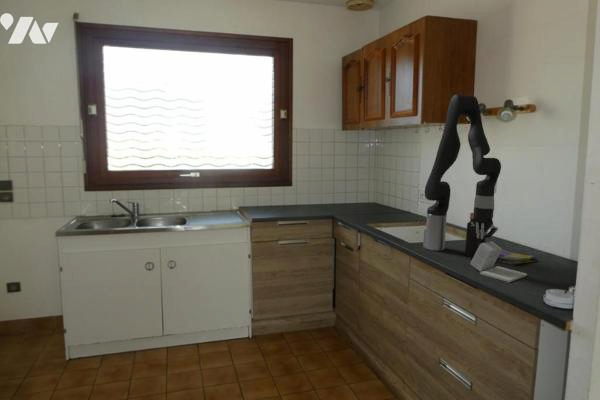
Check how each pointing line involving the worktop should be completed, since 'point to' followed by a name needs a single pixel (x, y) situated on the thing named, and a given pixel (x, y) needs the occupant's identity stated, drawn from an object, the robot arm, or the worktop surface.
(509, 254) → the dish towel
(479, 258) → the small box
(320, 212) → the worktop surface
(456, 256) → the worktop surface
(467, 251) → the bottle
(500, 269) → the mat
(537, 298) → the worktop surface
